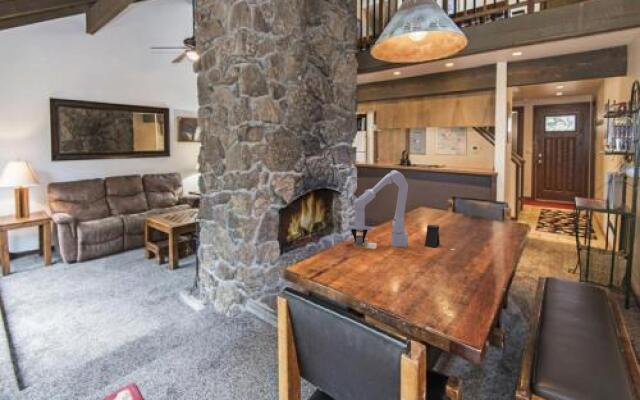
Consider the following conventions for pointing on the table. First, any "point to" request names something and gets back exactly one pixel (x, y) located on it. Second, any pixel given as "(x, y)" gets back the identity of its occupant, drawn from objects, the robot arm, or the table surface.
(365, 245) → the door board
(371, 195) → the robot arm
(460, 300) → the table surface
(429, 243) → the phone stand
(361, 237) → the gray block
